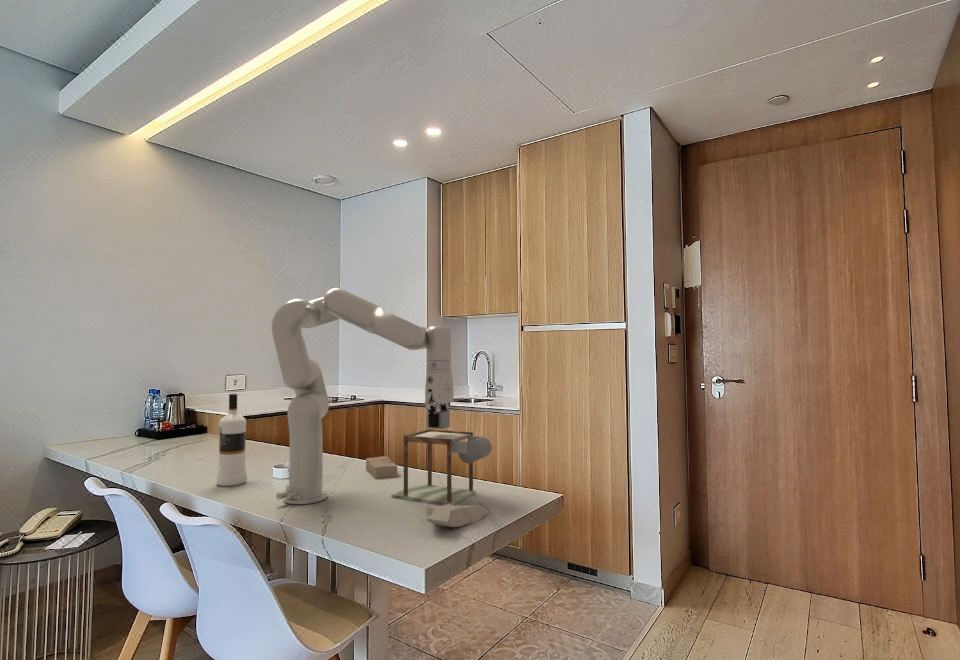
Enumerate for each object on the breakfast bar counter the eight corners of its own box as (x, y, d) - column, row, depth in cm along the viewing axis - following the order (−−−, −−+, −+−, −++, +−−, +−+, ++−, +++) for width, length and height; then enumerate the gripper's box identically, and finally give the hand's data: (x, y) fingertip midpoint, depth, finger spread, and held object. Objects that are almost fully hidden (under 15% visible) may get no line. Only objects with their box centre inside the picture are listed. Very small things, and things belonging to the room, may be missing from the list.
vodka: (248, 484, 175) (249, 394, 176) (216, 488, 171) (218, 395, 172) (245, 478, 184) (247, 392, 185) (216, 482, 179) (217, 393, 180)
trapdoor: (493, 457, 160) (493, 435, 160) (475, 465, 149) (475, 441, 150) (430, 451, 170) (430, 430, 170) (409, 458, 159) (409, 436, 159)
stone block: (441, 429, 159) (441, 412, 159) (427, 428, 161) (427, 411, 161) (449, 426, 163) (449, 410, 163) (435, 425, 165) (435, 409, 165)
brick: (398, 477, 186) (398, 464, 186) (374, 480, 182) (374, 466, 183) (387, 468, 201) (387, 455, 201) (365, 470, 198) (365, 457, 198)
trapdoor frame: (475, 493, 164) (475, 432, 165) (451, 506, 151) (451, 439, 151) (418, 485, 173) (418, 428, 174) (391, 497, 160) (391, 434, 161)
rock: (399, 529, 133) (444, 535, 124) (399, 510, 134) (444, 515, 125) (452, 514, 150) (495, 518, 141) (452, 497, 151) (495, 501, 142)
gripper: (434, 367, 153) (434, 430, 153) (462, 365, 169) (462, 423, 168) (413, 367, 157) (412, 428, 156) (442, 365, 172) (442, 421, 171)
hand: (438, 425), depth 162 cm, fingers closed on stone block, 5 cm apart
